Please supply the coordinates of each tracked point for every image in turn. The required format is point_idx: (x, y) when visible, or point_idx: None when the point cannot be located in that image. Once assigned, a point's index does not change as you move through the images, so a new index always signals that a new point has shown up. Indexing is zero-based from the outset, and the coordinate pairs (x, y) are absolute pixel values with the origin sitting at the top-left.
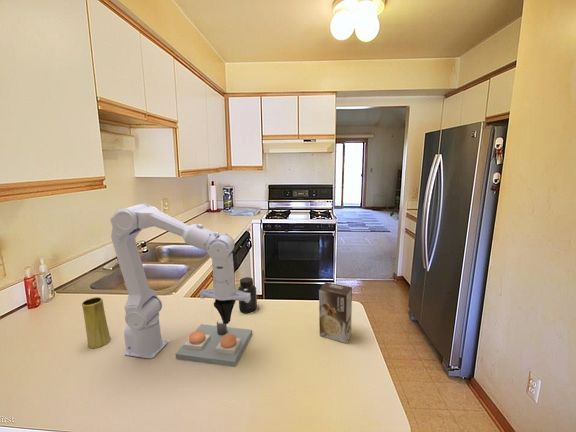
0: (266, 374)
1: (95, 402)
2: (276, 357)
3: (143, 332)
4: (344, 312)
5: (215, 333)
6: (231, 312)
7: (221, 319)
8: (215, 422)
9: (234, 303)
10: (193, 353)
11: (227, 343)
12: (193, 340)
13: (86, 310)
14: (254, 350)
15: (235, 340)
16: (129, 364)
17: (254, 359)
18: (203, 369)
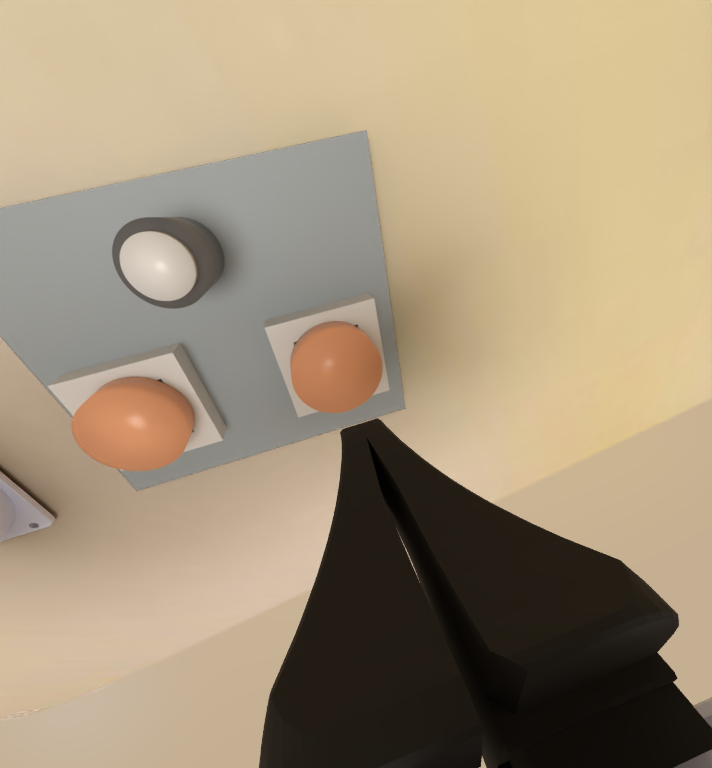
0: (511, 373)
1: (134, 630)
2: (533, 281)
3: None
4: None
5: None
6: (419, 460)
7: (134, 244)
8: None
9: (524, 527)
10: (210, 454)
11: (358, 403)
12: (163, 464)
13: None
14: (431, 281)
15: (380, 361)
16: (13, 564)
17: (451, 331)
18: (299, 453)
